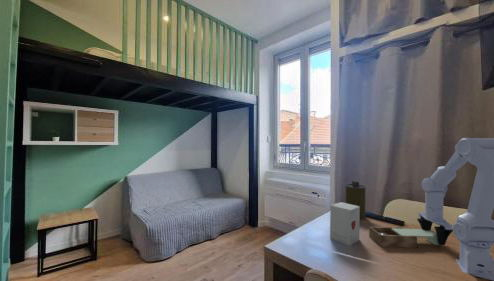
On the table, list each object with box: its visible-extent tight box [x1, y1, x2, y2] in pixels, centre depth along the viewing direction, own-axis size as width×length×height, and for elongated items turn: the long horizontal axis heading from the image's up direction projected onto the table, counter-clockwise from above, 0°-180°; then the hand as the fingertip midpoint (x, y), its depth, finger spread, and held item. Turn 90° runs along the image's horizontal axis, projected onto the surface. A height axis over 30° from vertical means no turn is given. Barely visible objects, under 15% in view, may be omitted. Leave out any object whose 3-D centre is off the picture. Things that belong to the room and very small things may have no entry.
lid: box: [391, 228, 440, 246], centre depth 91 cm, size 16×7×4 cm, turn 87°
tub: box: [368, 226, 418, 249], centre depth 91 cm, size 14×9×5 cm, turn 87°
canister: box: [344, 180, 367, 221], centre depth 124 cm, size 11×10×20 cm
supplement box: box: [329, 201, 360, 246], centre depth 94 cm, size 9×9×15 cm
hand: (433, 240), depth 91 cm, fingers open, 7 cm apart
